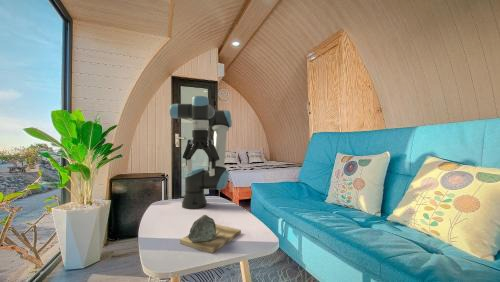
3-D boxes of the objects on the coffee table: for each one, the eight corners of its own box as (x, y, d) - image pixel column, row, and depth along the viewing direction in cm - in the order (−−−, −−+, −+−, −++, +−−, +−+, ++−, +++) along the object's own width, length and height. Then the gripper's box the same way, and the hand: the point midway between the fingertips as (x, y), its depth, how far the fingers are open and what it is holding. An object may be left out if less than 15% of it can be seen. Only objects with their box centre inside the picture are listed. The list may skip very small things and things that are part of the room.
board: (211, 226, 103) (211, 223, 103) (240, 233, 96) (240, 229, 96) (179, 243, 86) (179, 239, 86) (212, 253, 78) (212, 249, 78)
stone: (201, 217, 82) (209, 208, 92) (182, 233, 83) (191, 223, 93) (218, 237, 82) (223, 226, 92) (198, 253, 82) (205, 240, 92)
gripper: (174, 129, 105) (175, 173, 106) (217, 129, 94) (217, 178, 94) (186, 129, 112) (186, 171, 112) (227, 129, 100) (226, 175, 101)
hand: (200, 174), depth 103 cm, fingers open, 13 cm apart
